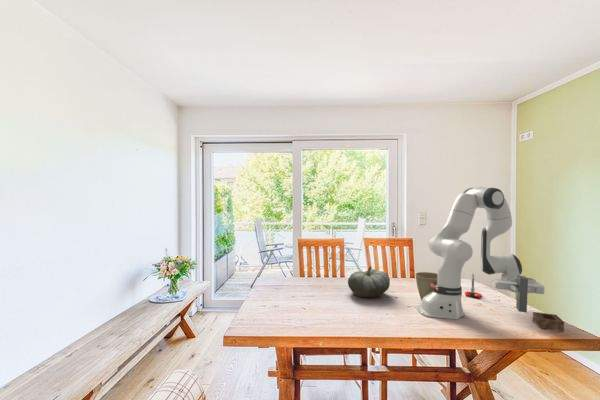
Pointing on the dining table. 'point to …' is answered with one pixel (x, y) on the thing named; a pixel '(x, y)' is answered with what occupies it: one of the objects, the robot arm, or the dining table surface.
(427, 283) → the plant pot
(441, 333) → the dining table surface
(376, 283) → the gourd
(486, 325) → the dining table surface
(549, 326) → the brown square socket block
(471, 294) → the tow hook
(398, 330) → the dining table surface
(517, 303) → the gray rectangular bar
